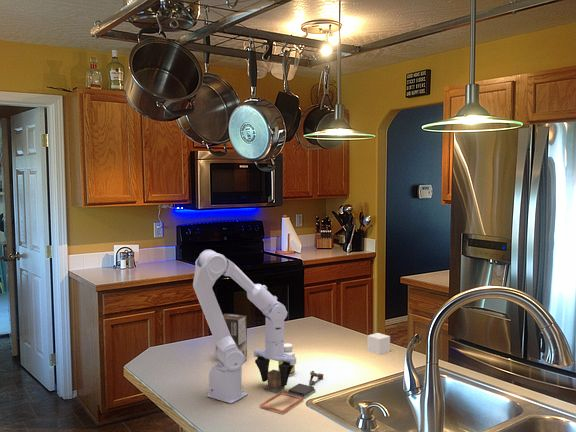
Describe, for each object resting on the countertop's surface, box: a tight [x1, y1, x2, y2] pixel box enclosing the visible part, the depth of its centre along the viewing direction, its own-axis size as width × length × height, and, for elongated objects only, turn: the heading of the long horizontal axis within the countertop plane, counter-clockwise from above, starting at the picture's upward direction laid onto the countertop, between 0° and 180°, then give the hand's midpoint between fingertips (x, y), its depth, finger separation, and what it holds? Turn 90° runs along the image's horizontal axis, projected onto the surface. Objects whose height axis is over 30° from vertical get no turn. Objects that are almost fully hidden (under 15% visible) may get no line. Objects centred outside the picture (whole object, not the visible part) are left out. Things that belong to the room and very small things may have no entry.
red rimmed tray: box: [259, 392, 304, 415], centre depth 156 cm, size 8×11×1 cm
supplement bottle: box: [277, 342, 296, 377], centre depth 180 cm, size 5×5×10 cm
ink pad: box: [286, 383, 316, 400], centre depth 164 cm, size 6×7×2 cm
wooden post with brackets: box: [308, 370, 325, 386], centre depth 172 cm, size 2×8×4 cm, turn 151°
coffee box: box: [216, 313, 248, 363], centre depth 192 cm, size 9×6×16 cm
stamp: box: [264, 369, 285, 394], centre depth 167 cm, size 4×4×6 cm
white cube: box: [366, 332, 391, 356], centre depth 204 cm, size 6×6×6 cm
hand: (274, 383), depth 167 cm, fingers open, 6 cm apart
